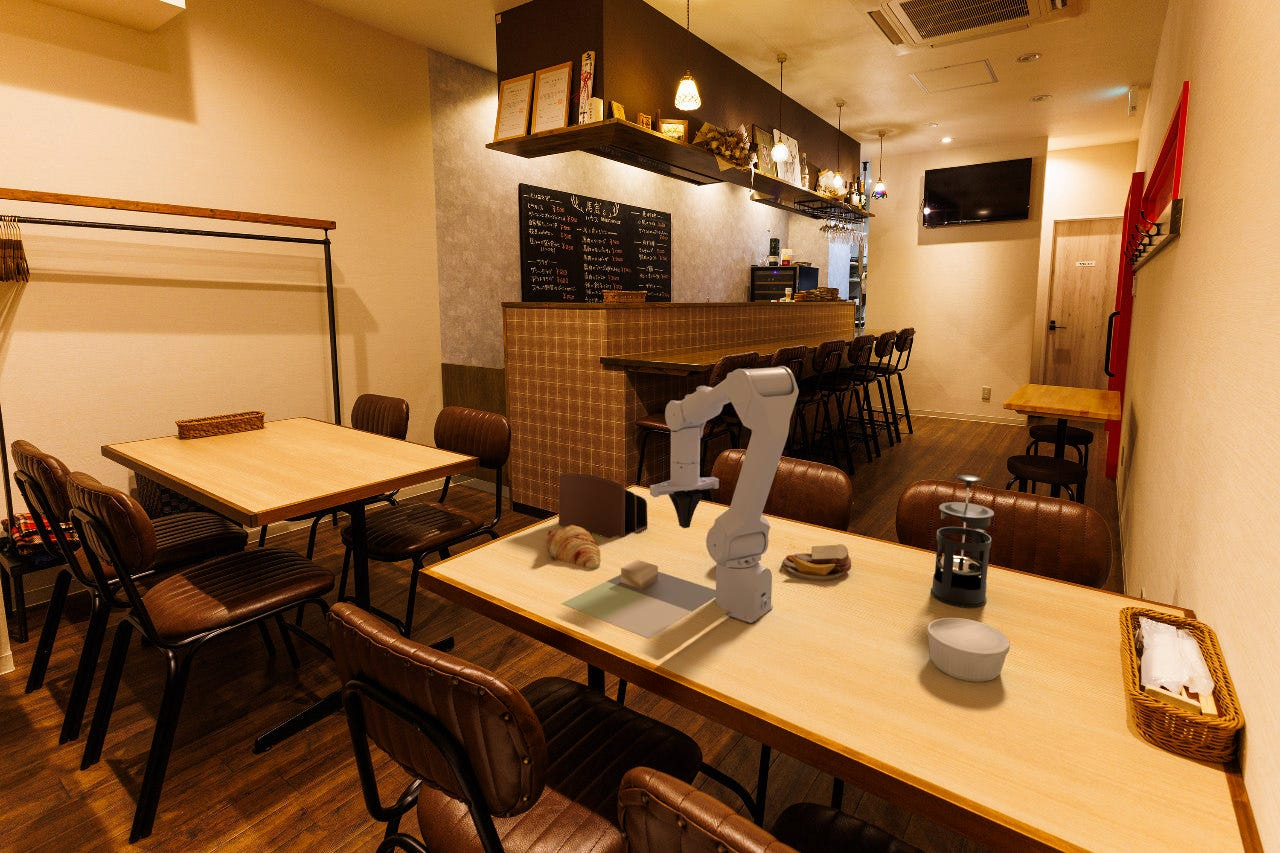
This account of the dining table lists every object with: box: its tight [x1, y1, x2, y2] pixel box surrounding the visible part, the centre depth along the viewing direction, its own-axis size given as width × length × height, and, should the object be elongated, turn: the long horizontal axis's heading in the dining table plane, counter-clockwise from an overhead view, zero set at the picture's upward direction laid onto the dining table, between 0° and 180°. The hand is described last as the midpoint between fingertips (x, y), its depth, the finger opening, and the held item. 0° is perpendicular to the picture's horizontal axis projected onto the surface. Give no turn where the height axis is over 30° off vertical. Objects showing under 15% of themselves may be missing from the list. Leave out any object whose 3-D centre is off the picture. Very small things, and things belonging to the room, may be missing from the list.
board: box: [560, 571, 716, 640], centre depth 122 cm, size 20×22×1 cm
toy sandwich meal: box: [782, 543, 852, 581], centre depth 137 cm, size 12×14×5 cm
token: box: [620, 559, 659, 589], centre depth 129 cm, size 5×5×3 cm
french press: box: [930, 474, 995, 609], centre depth 123 cm, size 12×9×23 cm
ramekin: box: [926, 617, 1011, 683], centre depth 101 cm, size 11×11×5 cm
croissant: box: [546, 525, 601, 570], centre depth 144 cm, size 21×10×8 cm, turn 34°
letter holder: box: [558, 472, 648, 539], centre depth 161 cm, size 10×20×14 cm, turn 55°
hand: (684, 526), depth 135 cm, fingers closed
